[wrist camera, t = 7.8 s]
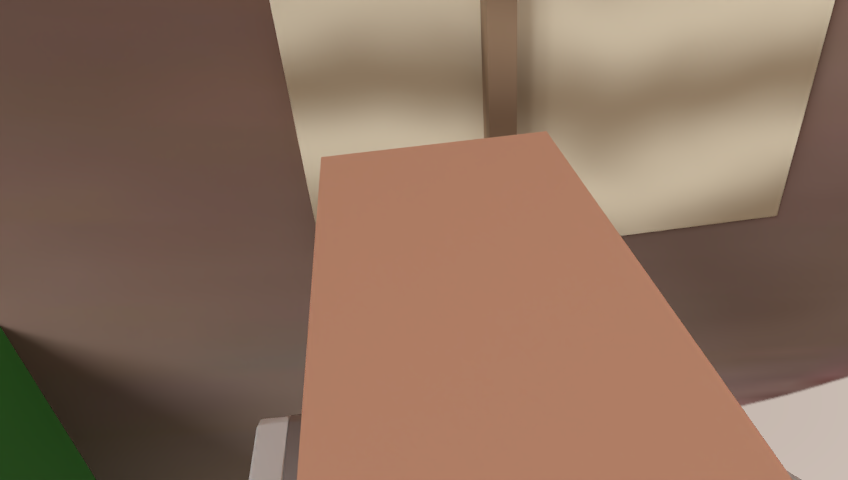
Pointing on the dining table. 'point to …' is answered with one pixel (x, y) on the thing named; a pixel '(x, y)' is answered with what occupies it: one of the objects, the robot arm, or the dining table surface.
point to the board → (569, 91)
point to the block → (499, 332)
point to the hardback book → (32, 428)
